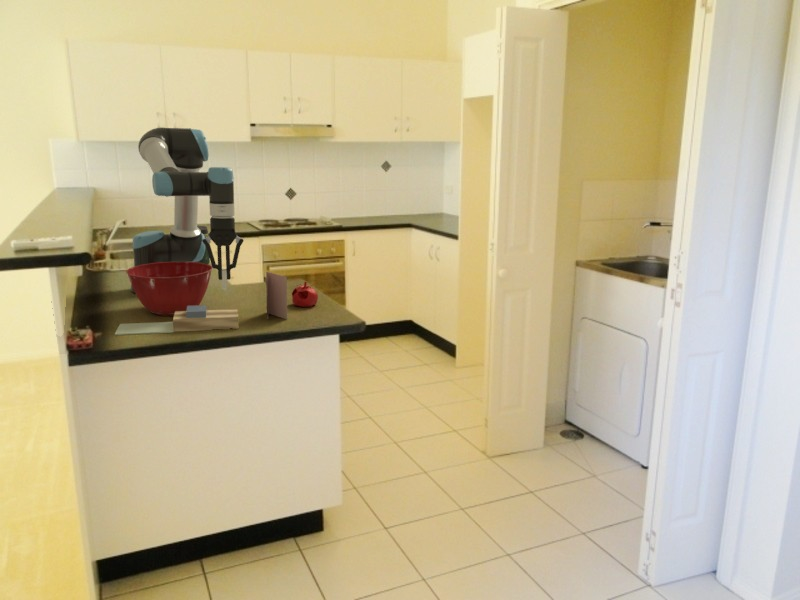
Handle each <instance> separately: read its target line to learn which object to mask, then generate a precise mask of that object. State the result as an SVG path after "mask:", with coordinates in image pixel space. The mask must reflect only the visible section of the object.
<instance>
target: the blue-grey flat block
mask: <svg viewBox="0 0 800 600" xmlns="http://www.w3.org/2000/svg"><path fill="white" fill-rule="evenodd" d="M207 310H208V309H207V305H206V304H203V305H201V304H200V305H196V306H187V310H186V318H202V317H206V312H207Z"/></svg>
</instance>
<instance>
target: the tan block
mask: <svg viewBox="0 0 800 600" xmlns="http://www.w3.org/2000/svg"><path fill="white" fill-rule="evenodd" d="M172 322H173V330H174V332H173V333H175V332H191V331H192V332H196V331H213V330H212V329H223V330H231V329H230V328H240V327H239V323H240V322H239V310H238V308H230V309H207V312H206V317H202V318H186V311H175V313H174V316H173V319H172Z"/></svg>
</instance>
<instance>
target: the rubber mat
mask: <svg viewBox="0 0 800 600" xmlns="http://www.w3.org/2000/svg"><path fill="white" fill-rule="evenodd" d="M168 333H170V334H171V333H175V332H174V330H173V321H163V322H161V321H160V322H156V321H155V322H138V323H137V322H135V323H134V322H133V323H120V324H119V325H118V327H117V329H116V330H115V333H114V336H120V335H123V336H124V335H126V336H127V335H144V334H146V335H147V334H149V335H150V334H168Z"/></svg>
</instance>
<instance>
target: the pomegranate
mask: <svg viewBox="0 0 800 600" xmlns="http://www.w3.org/2000/svg"><path fill="white" fill-rule="evenodd" d="M303 283H304V284H299V285H297V286H295V288H294V289H293V290H292V292H291V300H292V304H293V305H294V306H296V307H301V308H307V307H308V308H310V307H313V305H314V306H315V305H317V303H318V301H319V296H318V293H317V291H316V290H315V288H312V287H315V285H308V284H307V283H308V282H307V281H306V280H305V281H304V282H303Z"/></svg>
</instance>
